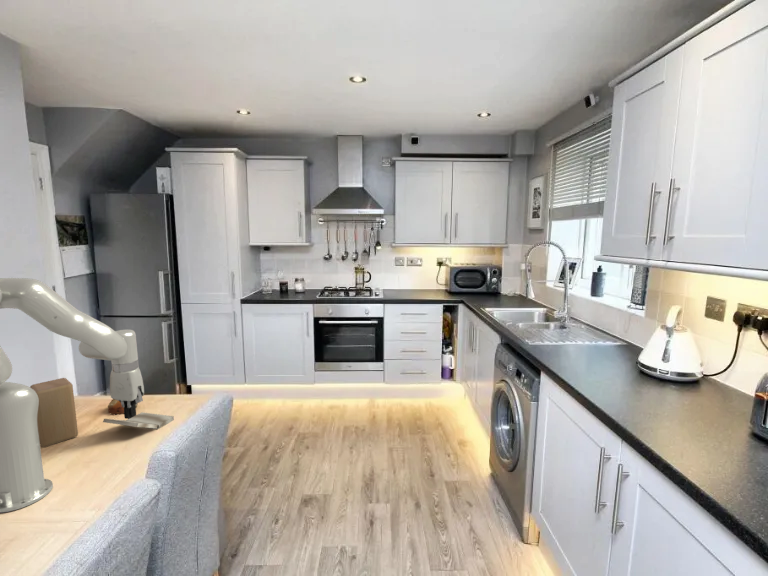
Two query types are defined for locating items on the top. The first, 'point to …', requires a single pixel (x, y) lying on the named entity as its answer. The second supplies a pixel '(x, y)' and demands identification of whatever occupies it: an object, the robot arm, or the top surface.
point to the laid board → (152, 419)
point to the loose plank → (130, 423)
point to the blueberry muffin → (116, 407)
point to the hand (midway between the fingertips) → (130, 416)
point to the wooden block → (55, 411)
